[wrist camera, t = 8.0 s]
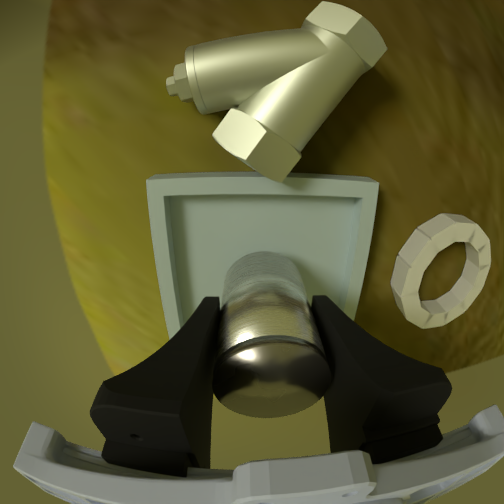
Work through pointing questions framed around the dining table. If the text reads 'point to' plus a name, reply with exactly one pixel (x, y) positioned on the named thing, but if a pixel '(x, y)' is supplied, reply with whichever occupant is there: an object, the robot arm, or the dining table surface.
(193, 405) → the robot arm
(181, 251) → the tray
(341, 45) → the pipe fitting
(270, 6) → the dining table surface
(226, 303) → the metal cylinder
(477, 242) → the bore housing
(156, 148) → the dining table surface
